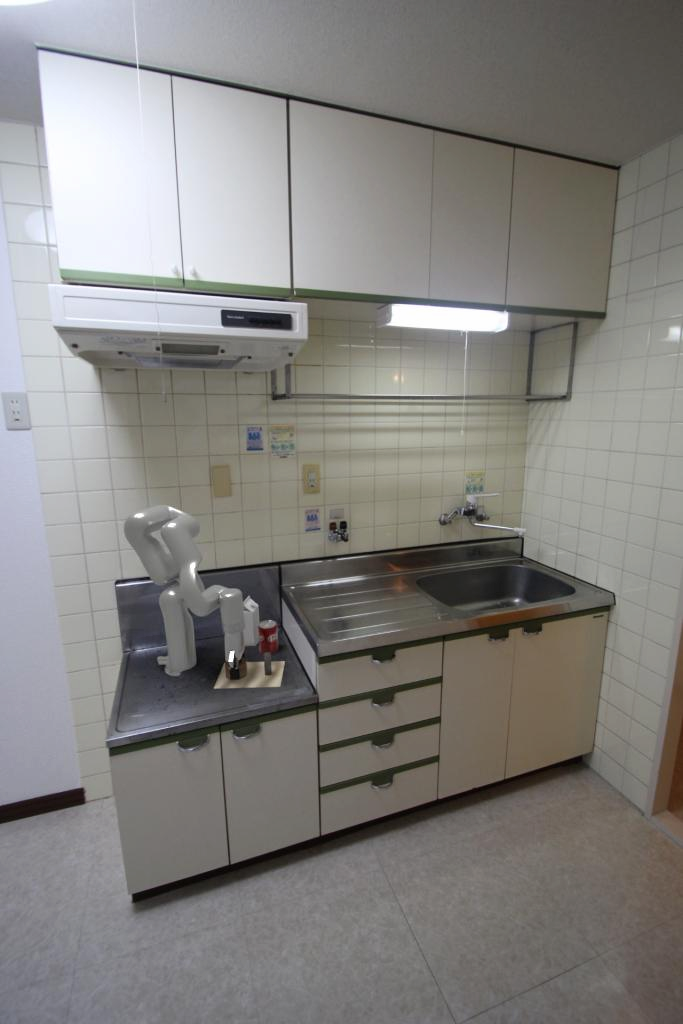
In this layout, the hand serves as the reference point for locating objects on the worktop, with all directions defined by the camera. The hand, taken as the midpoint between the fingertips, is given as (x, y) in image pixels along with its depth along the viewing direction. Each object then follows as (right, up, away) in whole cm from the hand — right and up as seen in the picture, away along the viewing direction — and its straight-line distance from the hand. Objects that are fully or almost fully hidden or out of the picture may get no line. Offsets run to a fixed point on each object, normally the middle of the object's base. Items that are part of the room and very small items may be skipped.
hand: (238, 670), depth 161 cm
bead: (-1, -1, +1) cm, 2 cm away
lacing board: (+4, -3, +1) cm, 5 cm away
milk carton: (-1, +2, +25) cm, 25 cm away
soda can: (+8, +1, +18) cm, 19 cm away
